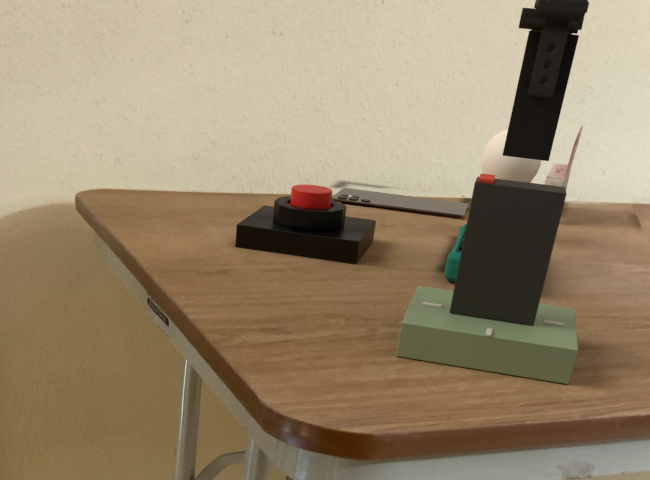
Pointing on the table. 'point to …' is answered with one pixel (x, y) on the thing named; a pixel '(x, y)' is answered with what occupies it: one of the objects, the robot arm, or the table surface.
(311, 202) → the button
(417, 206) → the smartphone
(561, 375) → the panel
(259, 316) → the table surface
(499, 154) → the lightbulb
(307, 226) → the button box
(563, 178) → the ink cartridge box
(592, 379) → the table surface
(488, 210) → the switch lever
